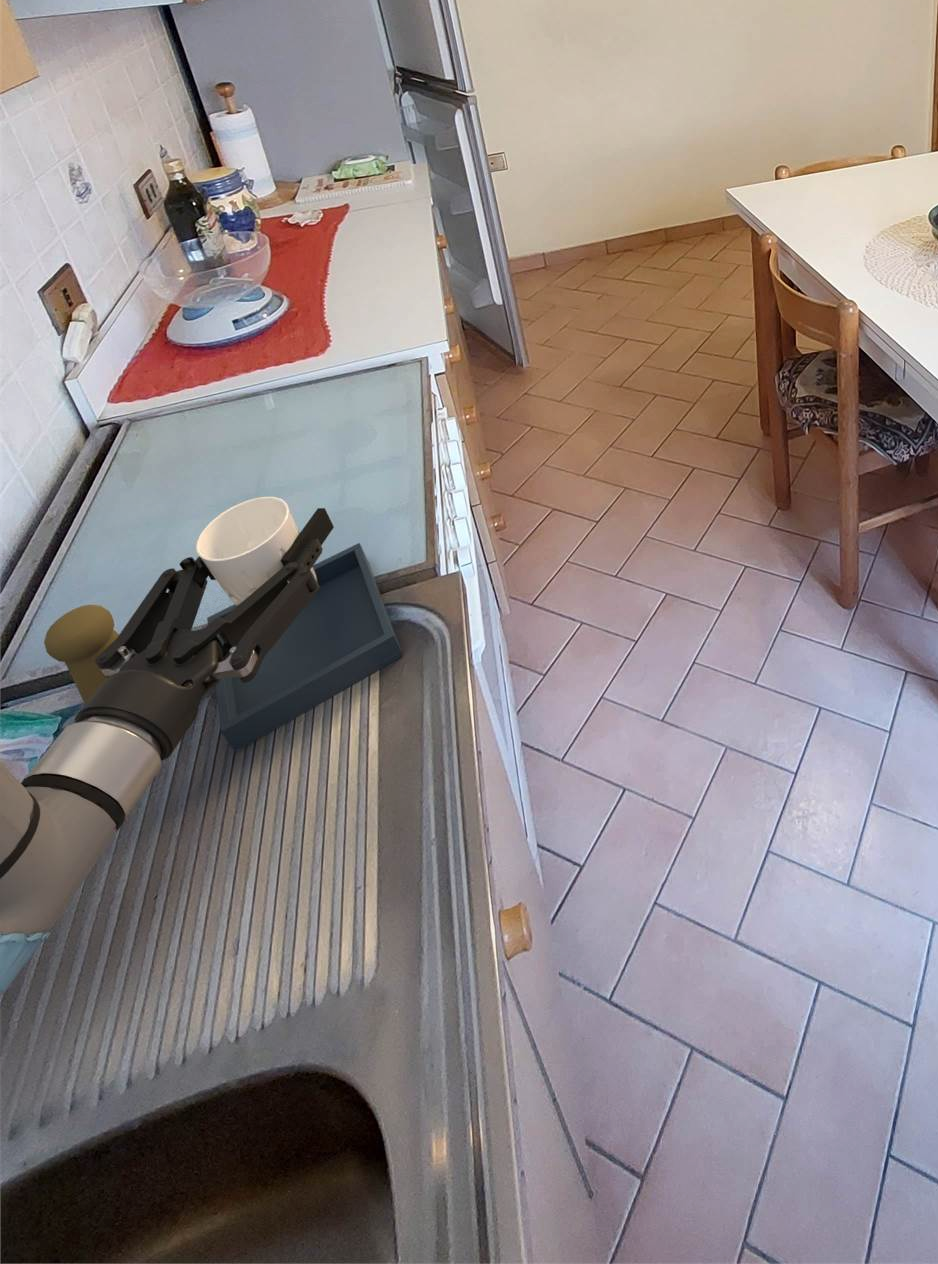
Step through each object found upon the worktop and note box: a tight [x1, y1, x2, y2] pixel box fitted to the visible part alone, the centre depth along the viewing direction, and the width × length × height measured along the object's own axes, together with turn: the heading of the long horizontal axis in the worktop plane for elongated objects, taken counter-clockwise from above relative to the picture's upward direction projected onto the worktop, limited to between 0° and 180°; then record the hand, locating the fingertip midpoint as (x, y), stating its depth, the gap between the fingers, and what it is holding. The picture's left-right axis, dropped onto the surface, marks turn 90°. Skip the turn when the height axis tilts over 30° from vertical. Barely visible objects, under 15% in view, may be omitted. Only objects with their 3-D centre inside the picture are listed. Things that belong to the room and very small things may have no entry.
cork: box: [43, 604, 120, 705], centre depth 79 cm, size 6×6×11 cm
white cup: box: [195, 496, 317, 606], centre depth 78 cm, size 8×8×10 cm
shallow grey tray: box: [206, 542, 404, 753], centre depth 83 cm, size 16×16×3 cm
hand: (287, 518), depth 82 cm, fingers closed on white cup, 8 cm apart
